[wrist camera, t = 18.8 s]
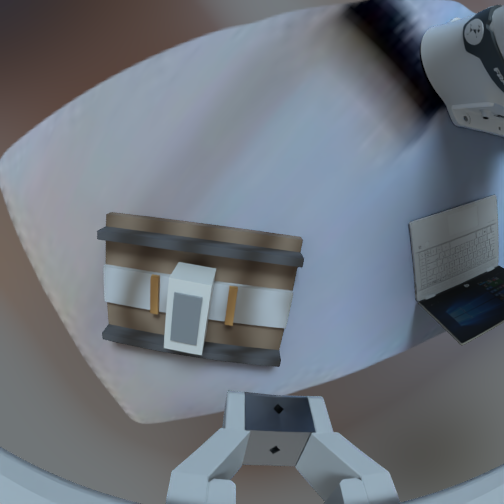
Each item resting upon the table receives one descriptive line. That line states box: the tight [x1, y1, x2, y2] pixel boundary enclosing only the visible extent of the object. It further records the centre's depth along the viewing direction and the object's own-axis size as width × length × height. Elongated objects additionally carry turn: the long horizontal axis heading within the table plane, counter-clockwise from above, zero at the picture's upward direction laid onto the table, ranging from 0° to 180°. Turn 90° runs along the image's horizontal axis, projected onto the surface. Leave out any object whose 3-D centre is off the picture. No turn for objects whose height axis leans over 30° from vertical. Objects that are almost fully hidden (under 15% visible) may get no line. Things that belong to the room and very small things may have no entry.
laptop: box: [409, 195, 504, 345], centre depth 32 cm, size 18×12×13 cm
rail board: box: [97, 212, 304, 367], centre depth 37 cm, size 24×18×4 cm
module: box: [164, 262, 216, 355], centre depth 34 cm, size 4×9×5 cm, turn 169°
